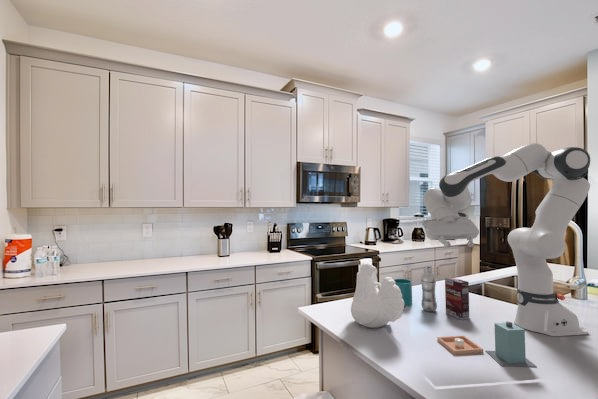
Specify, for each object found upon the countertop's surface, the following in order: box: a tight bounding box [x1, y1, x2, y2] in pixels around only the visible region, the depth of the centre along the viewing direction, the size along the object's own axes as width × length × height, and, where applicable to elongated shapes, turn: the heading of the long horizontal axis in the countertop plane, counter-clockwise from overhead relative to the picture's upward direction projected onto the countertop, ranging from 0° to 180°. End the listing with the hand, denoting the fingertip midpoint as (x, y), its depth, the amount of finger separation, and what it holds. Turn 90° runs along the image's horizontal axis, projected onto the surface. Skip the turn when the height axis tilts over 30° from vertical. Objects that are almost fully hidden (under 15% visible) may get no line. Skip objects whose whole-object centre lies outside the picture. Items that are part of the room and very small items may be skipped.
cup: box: [393, 278, 413, 307], centre depth 147 cm, size 9×12×11 cm
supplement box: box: [444, 276, 470, 321], centre depth 130 cm, size 9×5×16 cm, turn 23°
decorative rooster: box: [350, 262, 405, 329], centre depth 120 cm, size 25×16×25 cm, turn 17°
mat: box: [485, 350, 538, 368], centre depth 93 cm, size 10×9×1 cm
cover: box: [494, 321, 527, 363], centre depth 93 cm, size 6×6×11 cm
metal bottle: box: [420, 266, 438, 312], centre depth 137 cm, size 6×7×20 cm
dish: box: [436, 335, 484, 356], centre depth 101 cm, size 10×10×3 cm
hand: (460, 246), depth 113 cm, fingers open, 8 cm apart
